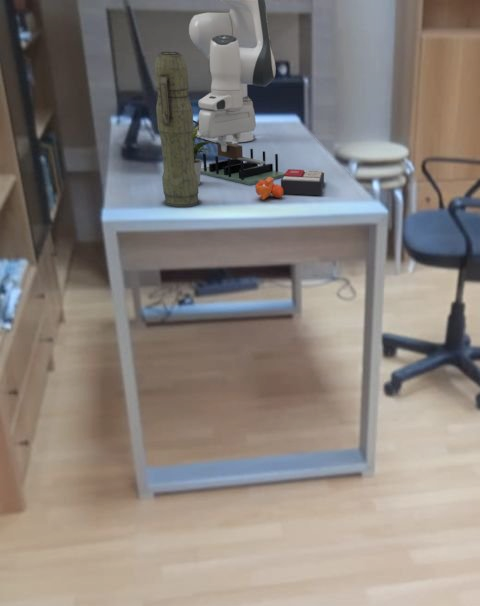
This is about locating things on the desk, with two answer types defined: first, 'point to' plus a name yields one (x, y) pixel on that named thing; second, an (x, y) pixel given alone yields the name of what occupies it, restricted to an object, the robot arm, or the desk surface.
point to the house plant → (196, 150)
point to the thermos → (176, 130)
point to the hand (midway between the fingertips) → (229, 150)
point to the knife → (236, 153)
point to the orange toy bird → (268, 188)
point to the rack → (241, 170)
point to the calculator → (302, 182)
